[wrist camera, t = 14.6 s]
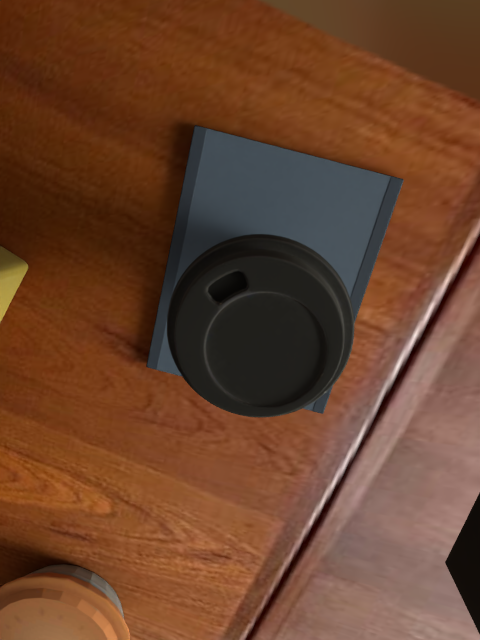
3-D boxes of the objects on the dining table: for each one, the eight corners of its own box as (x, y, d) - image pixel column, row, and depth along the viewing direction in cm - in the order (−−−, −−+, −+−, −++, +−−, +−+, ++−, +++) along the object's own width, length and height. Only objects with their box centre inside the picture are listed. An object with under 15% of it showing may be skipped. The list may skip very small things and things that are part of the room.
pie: (79, 523, 42) (55, 565, 38) (169, 626, 45) (157, 677, 40) (-25, 582, 46) (-60, 627, 41) (64, 674, 48) (42, 726, 44)
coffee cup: (247, 197, 32) (226, 193, 18) (348, 265, 33) (406, 314, 18) (185, 297, 34) (122, 365, 20) (280, 358, 35) (284, 465, 21)
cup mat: (196, 126, 31) (194, 124, 31) (401, 179, 31) (404, 179, 31) (148, 364, 37) (146, 367, 36) (322, 410, 37) (323, 414, 36)
